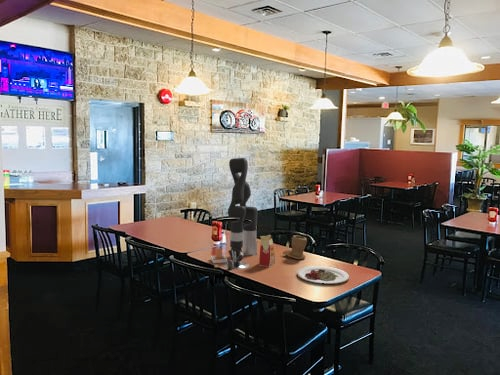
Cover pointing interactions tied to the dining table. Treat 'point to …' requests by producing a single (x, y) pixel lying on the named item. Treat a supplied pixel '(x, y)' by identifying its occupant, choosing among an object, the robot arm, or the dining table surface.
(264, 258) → the milk carton
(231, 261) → the crank
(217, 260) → the tray
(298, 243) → the tan boot
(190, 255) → the dining table surface
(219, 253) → the stop pin
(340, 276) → the plated food
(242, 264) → the base disc
